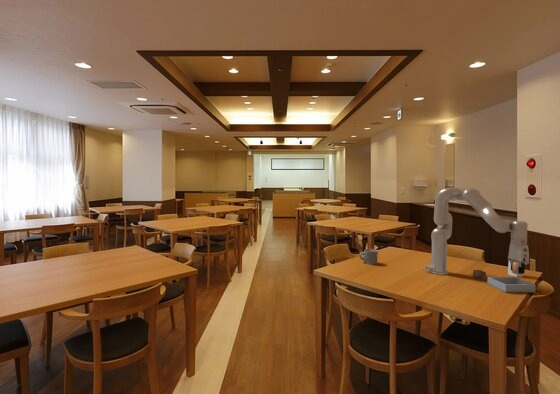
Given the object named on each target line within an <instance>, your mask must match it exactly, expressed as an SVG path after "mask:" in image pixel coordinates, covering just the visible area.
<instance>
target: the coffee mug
mask: <svg viewBox="0 0 560 394" xmlns="http://www.w3.org/2000/svg"><path fill="white" fill-rule="evenodd" d="M362 255H363V257H362ZM378 255H379V251H378V249H374V248H365V249H364V251H361V252H360V253H359V258H360V260H362V261H363V264H365V265H371V266H375V265H378Z"/></svg>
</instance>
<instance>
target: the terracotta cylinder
mask: <svg viewBox="0 0 560 394" xmlns="http://www.w3.org/2000/svg"><path fill="white" fill-rule="evenodd" d="M522 264H523V263H522ZM519 267H520V266H519V261H513V266H512V273H514V274H519V273H518V269H519ZM520 275H522V274H520Z"/></svg>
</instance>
